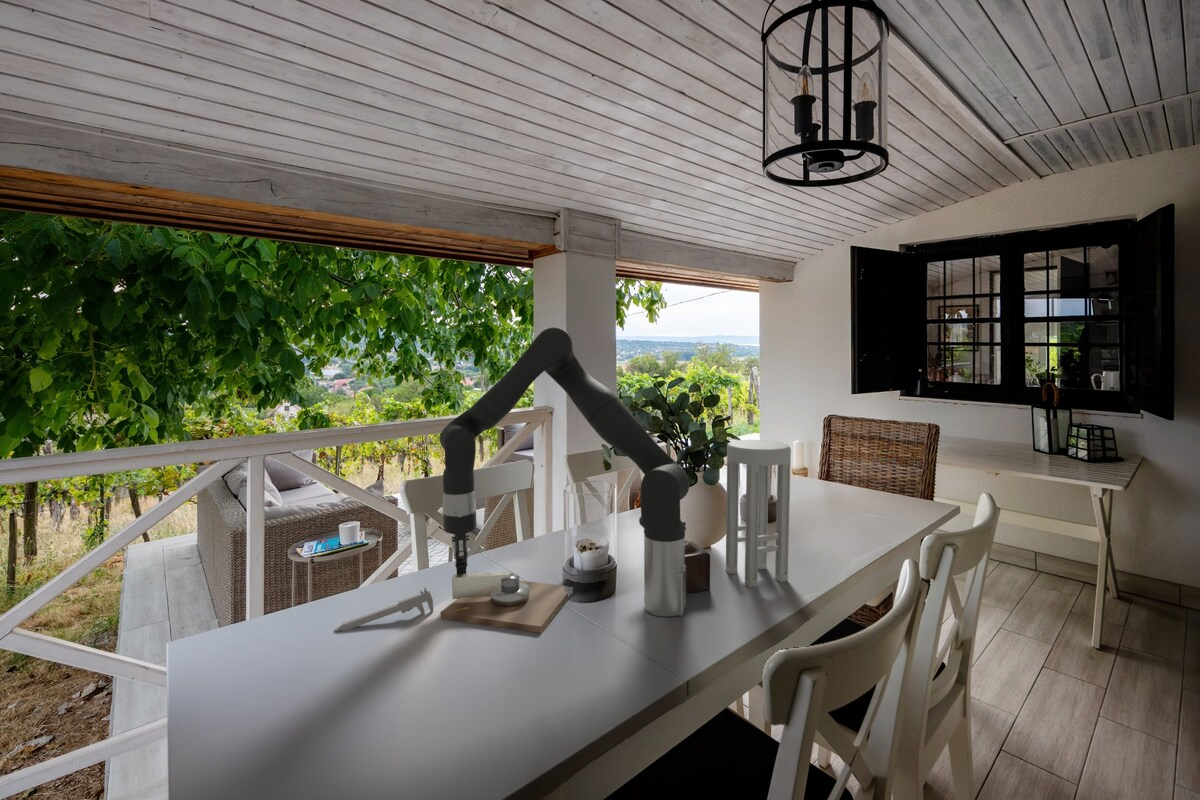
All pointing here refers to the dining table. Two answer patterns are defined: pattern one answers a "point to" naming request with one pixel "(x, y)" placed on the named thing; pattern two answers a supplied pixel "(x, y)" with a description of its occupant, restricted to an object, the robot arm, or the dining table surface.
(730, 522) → the stool
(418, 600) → the caliper
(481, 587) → the beige bar and knob
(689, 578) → the dark brown wooden box
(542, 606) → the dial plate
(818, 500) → the dining table surface
